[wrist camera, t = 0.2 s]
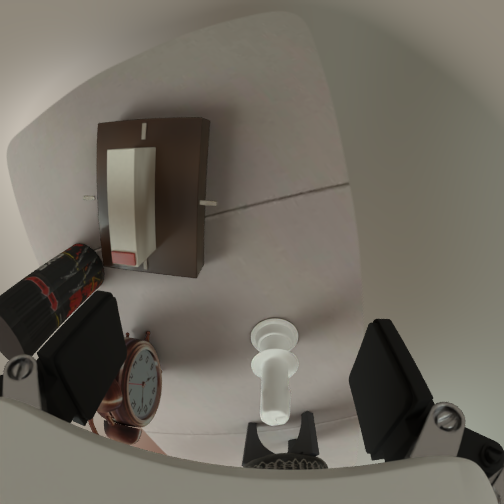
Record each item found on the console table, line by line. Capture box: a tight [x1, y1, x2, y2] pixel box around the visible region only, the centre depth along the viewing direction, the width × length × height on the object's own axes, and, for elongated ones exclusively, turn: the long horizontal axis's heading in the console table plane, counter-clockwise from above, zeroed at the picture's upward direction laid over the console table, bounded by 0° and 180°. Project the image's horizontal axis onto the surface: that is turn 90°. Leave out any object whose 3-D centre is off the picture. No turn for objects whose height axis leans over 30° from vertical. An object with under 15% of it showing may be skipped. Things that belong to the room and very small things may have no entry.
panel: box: [83, 117, 217, 278], centre depth 24 cm, size 14×13×3 cm
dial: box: [107, 147, 156, 267], centre depth 21 cm, size 9×2×4 cm, turn 176°
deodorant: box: [0, 243, 104, 360], centre depth 22 cm, size 6×6×15 cm
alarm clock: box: [88, 331, 162, 445], centre depth 26 cm, size 11×5×15 cm, turn 3°
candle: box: [251, 318, 299, 426], centre depth 25 cm, size 5×5×12 cm
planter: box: [242, 411, 328, 470], centre depth 29 cm, size 13×13×18 cm
